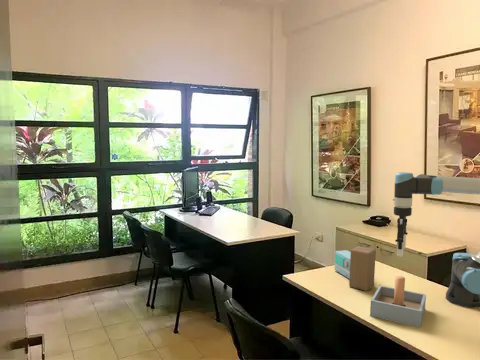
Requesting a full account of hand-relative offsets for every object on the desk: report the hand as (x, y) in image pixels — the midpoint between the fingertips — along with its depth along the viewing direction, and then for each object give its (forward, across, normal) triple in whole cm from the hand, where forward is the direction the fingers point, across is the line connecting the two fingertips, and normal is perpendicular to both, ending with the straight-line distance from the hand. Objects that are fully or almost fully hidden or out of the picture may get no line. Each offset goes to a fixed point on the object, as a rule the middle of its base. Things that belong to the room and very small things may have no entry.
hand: (401, 252), depth 177 cm
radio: (+25, -27, -30) cm, 47 cm away
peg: (+25, +10, 0) cm, 27 cm away
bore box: (+25, +10, 0) cm, 27 cm away
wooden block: (+25, -13, -19) cm, 34 cm away
